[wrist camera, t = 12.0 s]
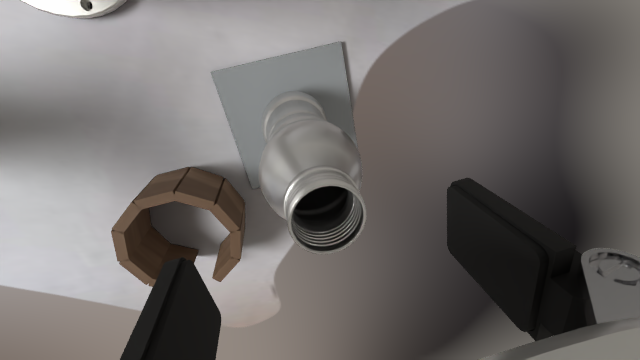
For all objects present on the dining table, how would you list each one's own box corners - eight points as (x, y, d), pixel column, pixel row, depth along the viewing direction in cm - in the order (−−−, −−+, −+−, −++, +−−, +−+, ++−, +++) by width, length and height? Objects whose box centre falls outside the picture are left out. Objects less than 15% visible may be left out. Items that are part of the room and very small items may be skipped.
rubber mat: (211, 71, 28) (210, 72, 27) (339, 41, 29) (341, 41, 28) (252, 187, 33) (252, 189, 33) (358, 159, 34) (360, 161, 34)
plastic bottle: (323, 88, 30) (408, 144, 12) (321, 150, 32) (388, 273, 14) (260, 87, 29) (246, 147, 11) (263, 151, 31) (257, 286, 13)
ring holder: (117, 185, 31) (85, 213, 25) (227, 156, 31) (219, 178, 26) (164, 264, 36) (145, 302, 30) (258, 239, 36) (257, 271, 31)
